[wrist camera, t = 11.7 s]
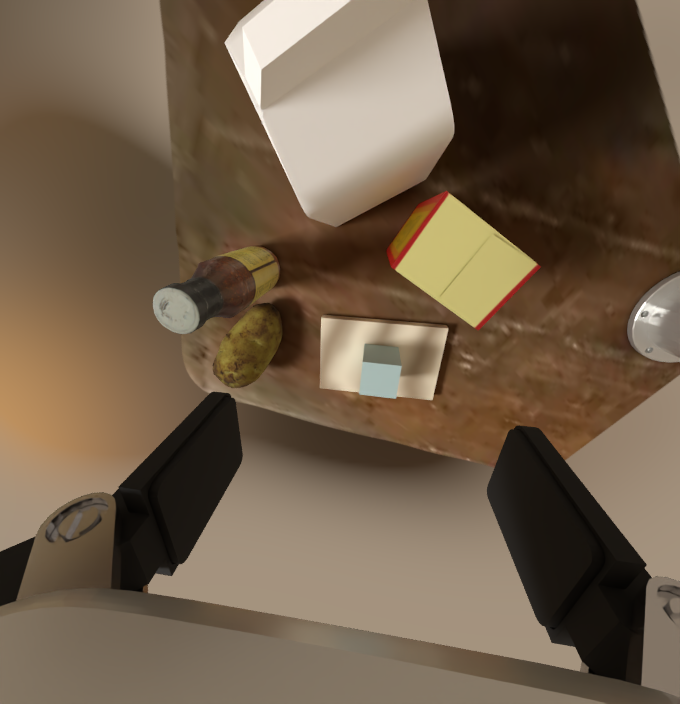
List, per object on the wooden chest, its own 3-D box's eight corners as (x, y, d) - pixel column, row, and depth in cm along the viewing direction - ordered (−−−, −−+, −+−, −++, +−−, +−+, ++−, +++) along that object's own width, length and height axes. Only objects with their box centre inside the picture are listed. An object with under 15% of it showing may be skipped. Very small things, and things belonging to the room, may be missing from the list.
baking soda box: (386, 250, 37) (391, 267, 23) (418, 203, 35) (447, 190, 20) (441, 291, 39) (479, 332, 24) (477, 249, 36) (543, 267, 21)
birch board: (446, 324, 40) (448, 328, 39) (430, 394, 46) (432, 400, 44) (323, 314, 42) (321, 317, 41) (321, 383, 47) (319, 388, 46)
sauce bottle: (232, 256, 40) (115, 283, 22) (269, 237, 38) (175, 250, 20) (255, 298, 42) (166, 353, 24) (291, 282, 41) (223, 329, 23)
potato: (306, 334, 44) (292, 356, 37) (253, 376, 48) (231, 403, 41) (269, 292, 42) (246, 307, 34) (217, 341, 46) (187, 363, 39)
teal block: (398, 347, 41) (401, 366, 36) (393, 376, 43) (396, 398, 38) (364, 343, 42) (362, 361, 36) (361, 373, 44) (359, 394, 38)
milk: (336, 227, 37) (264, 235, 13) (293, 130, 33) (89, -94, 10) (425, 179, 33) (538, 79, 10) (390, 66, 30) (437, -523, 6)
